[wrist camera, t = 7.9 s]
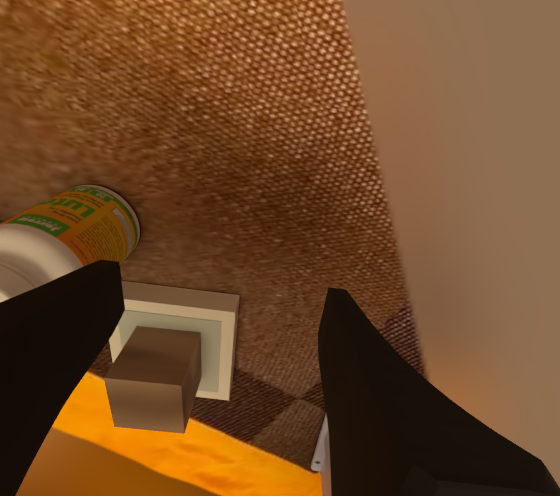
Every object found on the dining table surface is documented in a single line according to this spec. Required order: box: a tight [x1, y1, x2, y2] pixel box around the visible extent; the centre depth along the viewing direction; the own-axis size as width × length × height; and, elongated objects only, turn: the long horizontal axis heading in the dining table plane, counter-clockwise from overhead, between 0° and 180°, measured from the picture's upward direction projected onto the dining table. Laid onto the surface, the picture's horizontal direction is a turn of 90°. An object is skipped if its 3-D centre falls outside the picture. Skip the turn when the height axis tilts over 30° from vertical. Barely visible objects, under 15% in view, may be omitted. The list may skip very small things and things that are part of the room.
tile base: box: [109, 281, 240, 400], centre depth 25 cm, size 9×9×2 cm
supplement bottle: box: [0, 185, 140, 302], centre depth 18 cm, size 5×5×10 cm
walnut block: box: [104, 326, 202, 433], centre depth 22 cm, size 4×4×4 cm
